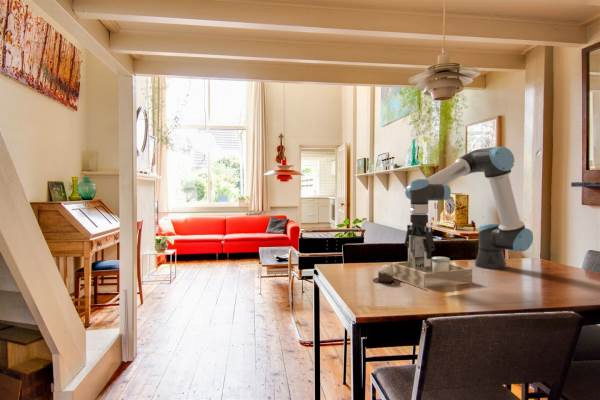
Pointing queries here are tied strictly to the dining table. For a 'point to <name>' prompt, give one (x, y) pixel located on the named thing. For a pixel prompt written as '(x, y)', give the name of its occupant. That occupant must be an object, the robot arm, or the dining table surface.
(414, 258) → the coffee box
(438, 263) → the white light bulb
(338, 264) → the dining table surface
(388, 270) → the skull
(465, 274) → the crate
